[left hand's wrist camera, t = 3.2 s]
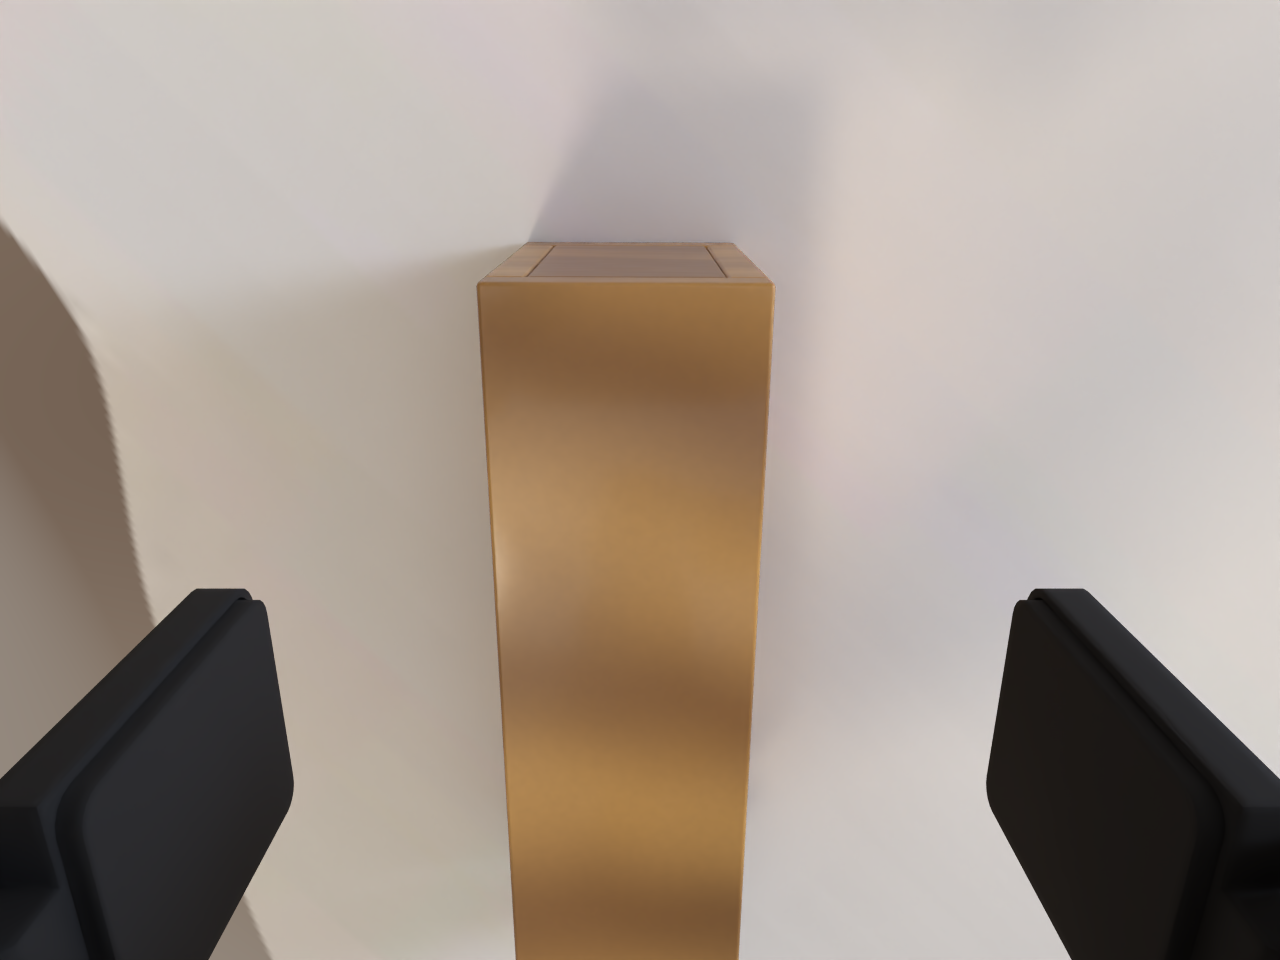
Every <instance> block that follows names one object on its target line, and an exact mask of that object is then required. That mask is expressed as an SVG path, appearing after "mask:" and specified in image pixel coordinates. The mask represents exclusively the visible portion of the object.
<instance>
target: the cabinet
mask: <svg viewBox="0 0 1280 960" xmlns="http://www.w3.org/2000/svg"><path fill="white" fill-rule="evenodd" d="M477 301H478V319H479V336H480V353H481V370H482V387H483V404H484V422H485V439H486V456H487V473H488V490H489V508H490V525H491V542H492V559H493V576H494V593H495V611H496V628H497V645H498V662H499V679H500V696H501V714H502V731H503V748H504V765H505V782H506V799H507V817H508V834H509V851H510V868H511V885H512V903H513V920H514V937H515V954H516V960H739V941H740V923H741V905H742V887H743V868H744V850H745V832H746V814H747V795H748V777H749V759H750V741H751V722H752V704H753V686H754V668H755V649H756V631H757V613H758V595H759V576H760V558H761V540H762V522H763V503H764V485H765V467H766V449H767V430H768V412H769V394H770V376H771V358H772V339H773V321H774V303H775V285H774V283H773V282H772V281H771V280H770V279H768V277H767V276H766V275H765V274H764V273H763V272H762V271H761V270H760V269H759V268H758V267H757V266H756V265H755V264H753V263H752V262H751V261H750V260H749V259H748V258H747V257H746V256H745V255H744V254H743V253H742V252H741V251H740V250H739V249H738V248H737V247H736V245H735V244H733V243H598V242H528V243H526V244H525V245H523V247H521V248H520V249H519V250H518V251H516V252H515V253H514V254H513V255H511V256H510V257H509V258H508V259H507V260H505V261H504V262H503V263H502V264H500V265H499V266H498V267H497V268H495V269H494V270H493V271H492V272H490V273H489V274H488V275H487V276H485V278H483V279H482V280H481V281H479V282H478V284H477Z"/></svg>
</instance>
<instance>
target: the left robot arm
mask: <svg viewBox="0 0 1280 960" xmlns="http://www.w3.org/2000/svg"><path fill="white" fill-rule="evenodd" d="M293 788H294V780H293V772H292V766H291V759H290V753H289V747H288V741H287V735H286V728H285V722H284V716H283V710H282V703H281V697H280V691H279V685H278V678H277V672H276V666H275V660H274V653H273V647H272V641H271V635H270V628H269V622H268V616H267V611H266V607H265V605H264V603H263V602H262V601H261V600H252V597H251V595H250V593H249V592H248V591H247V590H246V589H195V590H194V591H192V592H191V593H190V594H189V595H188V596H187V597H186V598H185V599H184V600H183V601H182V602H181V603H180V604H179V605H178V606H177V607H176V608H175V609H174V610H173V611H172V612H171V613H170V614H169V615H167V616H166V617H165V618H164V619H163V620H162V621H161V622H160V623H159V624H158V625H157V626H156V627H155V628H154V629H153V630H152V631H151V632H150V633H149V634H148V635H147V636H146V637H145V638H144V639H143V640H142V641H141V642H140V643H139V644H138V645H137V646H136V647H135V648H134V649H133V650H132V651H131V652H130V653H129V654H128V655H127V656H126V657H125V658H124V659H123V660H122V661H120V662H119V663H118V664H117V665H116V666H115V667H114V668H113V669H112V670H111V671H110V672H109V673H108V674H107V675H106V676H105V677H104V678H103V679H102V680H101V681H100V682H99V683H98V684H97V685H96V686H95V687H94V688H93V689H92V690H91V691H90V692H89V693H88V694H87V695H86V696H85V697H84V698H83V699H82V700H81V701H80V702H79V703H78V704H77V705H76V706H74V707H73V708H72V709H71V710H70V711H69V712H68V713H67V714H66V715H65V716H64V717H63V718H62V719H61V720H60V721H59V722H58V723H57V724H56V725H55V726H54V727H53V728H52V729H51V730H50V731H49V732H48V733H47V734H46V735H45V736H44V737H43V738H42V739H41V740H40V741H39V742H38V743H37V744H36V745H35V746H34V747H33V748H32V749H31V750H29V751H28V752H27V753H26V754H25V755H24V756H23V757H22V758H21V759H20V760H19V761H18V762H17V763H16V764H15V765H14V766H13V767H12V768H11V769H10V770H9V771H8V772H7V773H6V774H5V775H4V776H3V777H2V778H1V779H0V960H208V959H209V958H210V956H211V954H212V952H213V950H214V948H215V946H216V945H217V943H218V941H219V939H220V937H221V935H222V933H223V931H224V930H225V928H226V926H227V924H228V922H229V920H230V918H231V917H232V915H233V913H234V911H235V909H236V907H237V905H238V903H239V901H240V900H241V898H242V896H243V894H244V892H245V890H246V888H247V887H248V885H249V883H250V881H251V879H252V877H253V875H254V874H255V872H256V870H257V868H258V866H259V864H260V862H261V860H262V859H263V857H264V855H265V853H266V851H267V849H268V847H269V846H270V844H271V842H272V840H273V838H274V836H275V834H276V832H277V831H278V829H279V827H280V825H281V823H282V821H283V819H284V817H285V816H286V814H287V812H288V810H289V807H290V805H291V801H292V796H293ZM986 788H987V796H988V801H989V805H990V807H991V810H992V812H993V814H994V816H995V817H996V819H997V821H998V823H999V825H1000V827H1001V829H1002V831H1003V832H1004V834H1005V836H1006V838H1007V840H1008V842H1009V844H1010V846H1011V847H1012V849H1013V851H1014V853H1015V855H1016V857H1017V859H1018V860H1019V862H1020V864H1021V866H1022V868H1023V870H1024V872H1025V874H1026V875H1027V877H1028V879H1029V881H1030V883H1031V885H1032V887H1033V888H1034V890H1035V892H1036V894H1037V896H1038V898H1039V900H1040V902H1041V903H1042V905H1043V907H1044V909H1045V911H1046V913H1047V915H1048V917H1049V918H1050V920H1051V922H1052V924H1053V926H1054V928H1055V930H1056V931H1057V933H1058V935H1059V937H1060V939H1061V941H1062V943H1063V945H1064V946H1065V948H1066V950H1067V952H1068V954H1069V956H1070V958H1071V959H1072V960H1280V779H1279V778H1278V777H1277V776H1276V775H1275V774H1274V773H1273V772H1272V771H1271V770H1270V769H1269V768H1268V767H1267V766H1266V765H1265V764H1264V763H1263V762H1262V761H1261V760H1260V759H1259V758H1258V757H1257V756H1256V755H1255V754H1254V753H1253V752H1252V751H1251V750H1249V749H1248V748H1247V747H1246V746H1245V745H1244V744H1243V743H1242V742H1241V741H1240V740H1239V739H1238V738H1237V737H1236V736H1235V735H1234V734H1233V733H1232V732H1231V731H1230V730H1229V729H1228V728H1227V727H1226V726H1225V725H1224V724H1223V723H1222V722H1221V721H1220V720H1219V719H1218V718H1217V717H1216V716H1215V715H1214V714H1213V713H1212V712H1211V711H1210V710H1209V709H1208V708H1207V707H1206V706H1205V705H1203V704H1202V703H1201V702H1200V701H1199V700H1198V699H1197V698H1196V697H1195V696H1194V695H1193V694H1192V693H1191V692H1190V691H1189V690H1188V689H1187V688H1186V687H1185V686H1184V685H1183V684H1182V683H1181V682H1180V681H1179V680H1178V679H1177V678H1176V677H1175V676H1174V675H1173V674H1172V673H1171V672H1170V671H1169V670H1168V669H1167V668H1166V667H1165V666H1164V665H1163V664H1162V663H1161V662H1160V661H1159V660H1157V659H1156V658H1155V657H1154V656H1153V655H1152V654H1151V653H1150V652H1149V651H1148V650H1147V649H1146V648H1145V647H1144V646H1143V645H1142V644H1141V643H1140V642H1139V641H1138V640H1137V639H1136V638H1135V637H1134V636H1133V635H1132V634H1131V633H1130V632H1129V631H1128V630H1127V629H1126V628H1125V627H1124V626H1123V625H1122V624H1121V623H1120V622H1119V621H1118V620H1117V619H1116V618H1115V617H1114V616H1113V615H1111V614H1110V613H1109V612H1108V611H1107V610H1106V609H1105V608H1104V607H1103V606H1102V605H1101V604H1100V603H1099V602H1098V601H1097V600H1096V599H1095V598H1094V597H1093V596H1092V595H1091V594H1090V593H1089V592H1088V591H1086V590H1085V589H1034V590H1033V591H1032V592H1031V593H1030V595H1029V597H1028V600H1019V601H1018V602H1017V603H1016V605H1015V607H1014V611H1013V616H1012V622H1011V628H1010V635H1009V641H1008V647H1007V653H1006V660H1005V666H1004V672H1003V678H1002V685H1001V691H1000V697H999V703H998V710H997V716H996V722H995V728H994V735H993V741H992V747H991V753H990V759H989V766H988V772H987V780H986Z"/></svg>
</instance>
